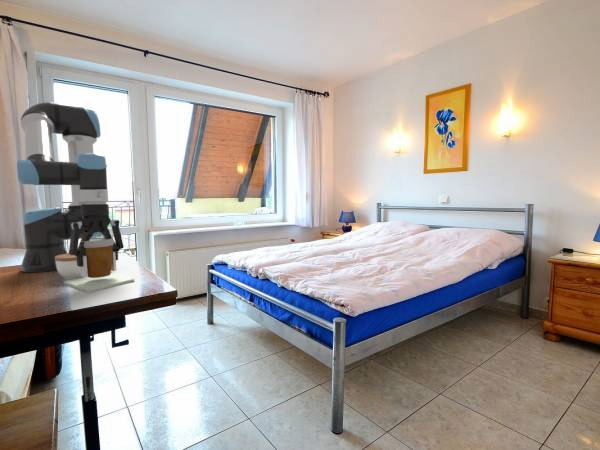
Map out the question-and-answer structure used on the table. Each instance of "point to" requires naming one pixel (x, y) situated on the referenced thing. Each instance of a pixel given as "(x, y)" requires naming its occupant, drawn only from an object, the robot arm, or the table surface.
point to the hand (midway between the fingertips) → (99, 273)
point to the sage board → (98, 282)
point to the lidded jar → (68, 266)
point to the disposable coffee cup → (98, 256)
